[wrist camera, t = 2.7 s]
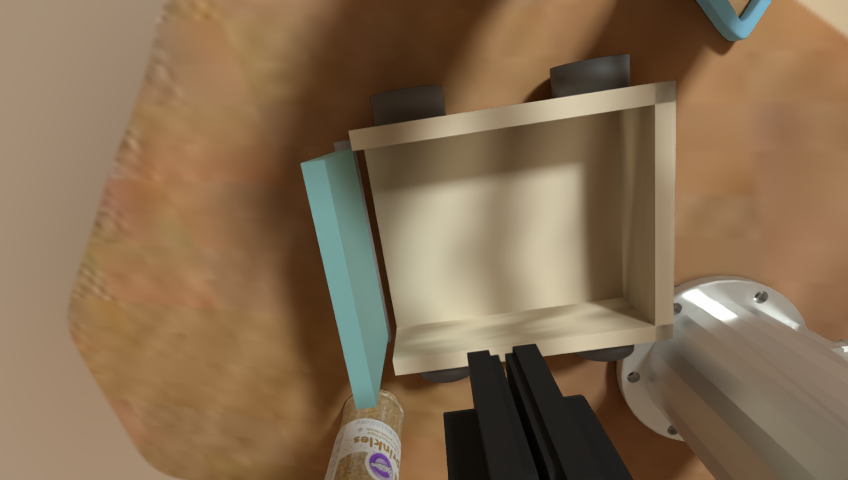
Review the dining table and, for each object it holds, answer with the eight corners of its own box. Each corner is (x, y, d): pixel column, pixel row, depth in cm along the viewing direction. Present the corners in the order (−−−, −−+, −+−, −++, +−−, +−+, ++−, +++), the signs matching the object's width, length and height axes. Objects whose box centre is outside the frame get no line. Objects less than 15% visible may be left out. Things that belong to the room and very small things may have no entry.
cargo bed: (627, 58, 25) (676, 43, 20) (632, 323, 29) (673, 363, 24) (357, 101, 25) (341, 96, 20) (403, 354, 30) (399, 398, 25)
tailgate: (355, 138, 25) (324, 147, 17) (392, 334, 28) (380, 415, 21) (335, 141, 25) (295, 151, 17) (374, 336, 29) (356, 418, 21)
